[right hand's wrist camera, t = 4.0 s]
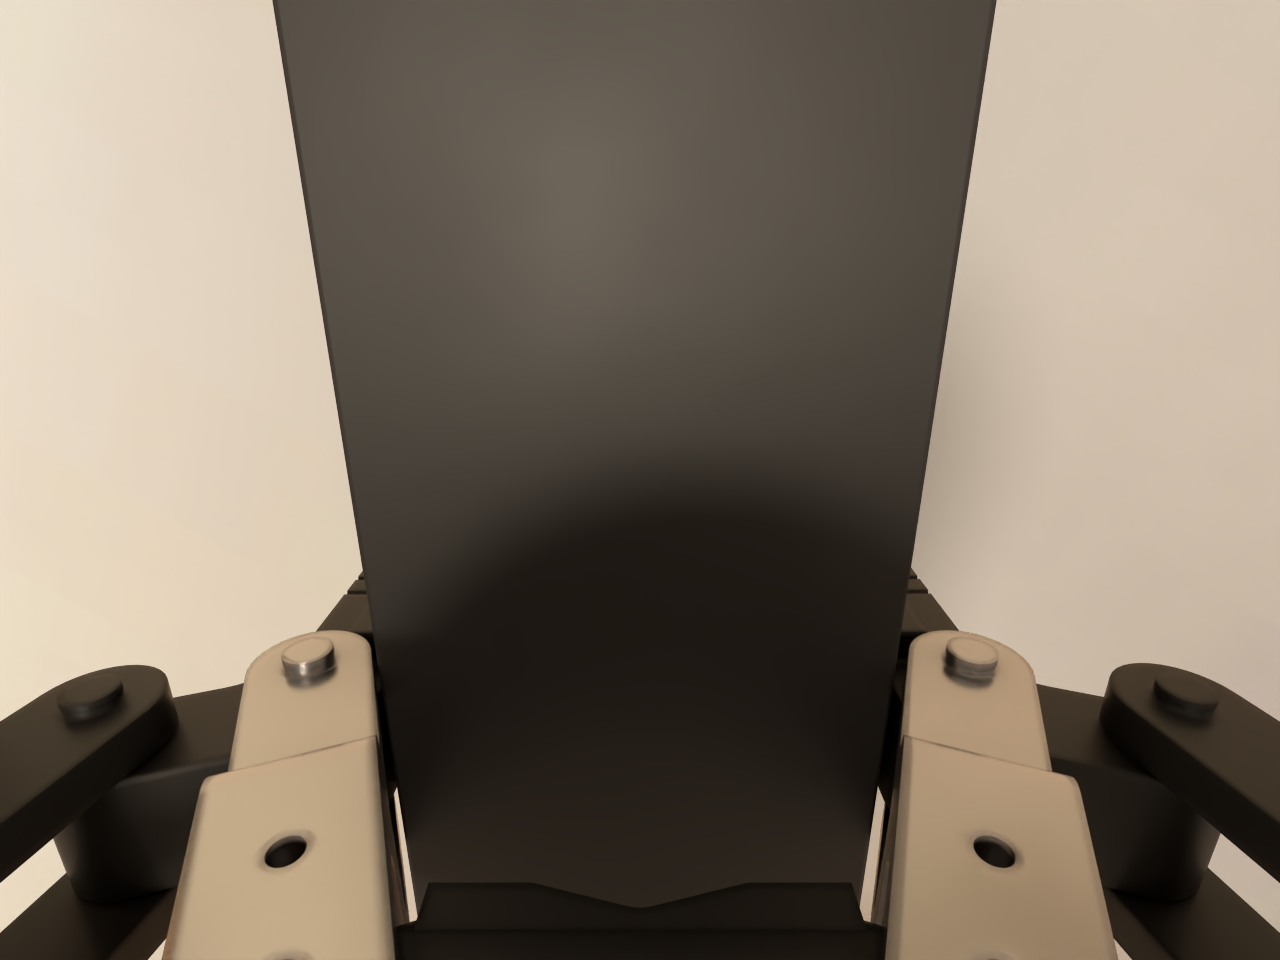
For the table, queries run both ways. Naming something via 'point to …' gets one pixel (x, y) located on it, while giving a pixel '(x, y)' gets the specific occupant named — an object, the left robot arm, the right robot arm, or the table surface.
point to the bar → (636, 409)
